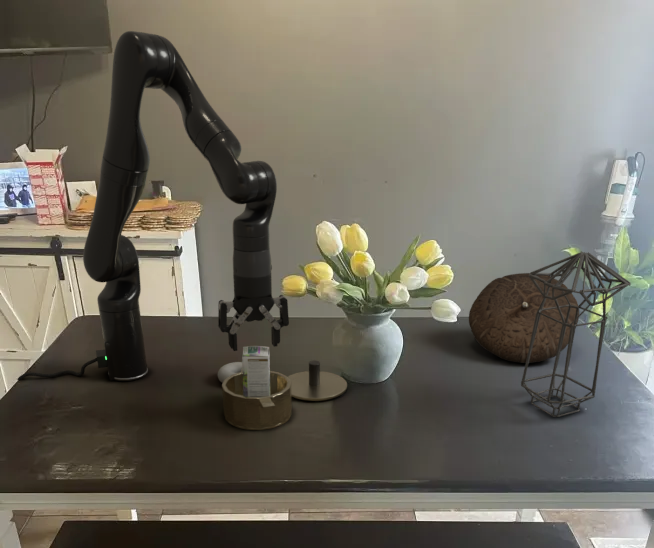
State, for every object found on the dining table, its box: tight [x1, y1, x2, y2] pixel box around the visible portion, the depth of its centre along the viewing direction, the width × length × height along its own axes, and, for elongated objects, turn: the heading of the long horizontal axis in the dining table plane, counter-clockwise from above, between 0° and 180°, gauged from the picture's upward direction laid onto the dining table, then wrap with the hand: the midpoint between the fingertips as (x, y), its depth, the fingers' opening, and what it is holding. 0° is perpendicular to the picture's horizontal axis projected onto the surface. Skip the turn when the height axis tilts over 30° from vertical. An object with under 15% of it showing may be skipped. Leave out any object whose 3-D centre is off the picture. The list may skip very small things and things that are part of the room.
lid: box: [287, 360, 348, 402], centre depth 159 cm, size 16×16×7 cm
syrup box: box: [241, 345, 271, 397], centre depth 145 cm, size 6×6×14 cm
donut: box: [217, 361, 242, 384], centre depth 164 cm, size 10×4×10 cm
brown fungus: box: [468, 272, 580, 364], centre depth 178 cm, size 28×23×25 cm
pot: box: [221, 370, 293, 431], centre depth 147 cm, size 15×20×8 cm
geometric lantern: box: [520, 250, 632, 418], centre depth 145 cm, size 16×16×35 cm
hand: (254, 347), depth 141 cm, fingers open, 8 cm apart
